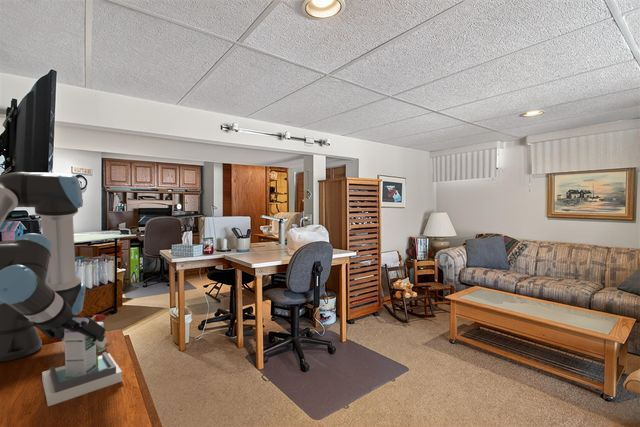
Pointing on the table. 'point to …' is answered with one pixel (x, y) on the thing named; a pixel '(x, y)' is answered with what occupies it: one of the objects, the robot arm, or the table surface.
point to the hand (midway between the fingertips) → (90, 343)
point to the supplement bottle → (105, 337)
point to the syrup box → (79, 354)
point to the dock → (79, 380)
